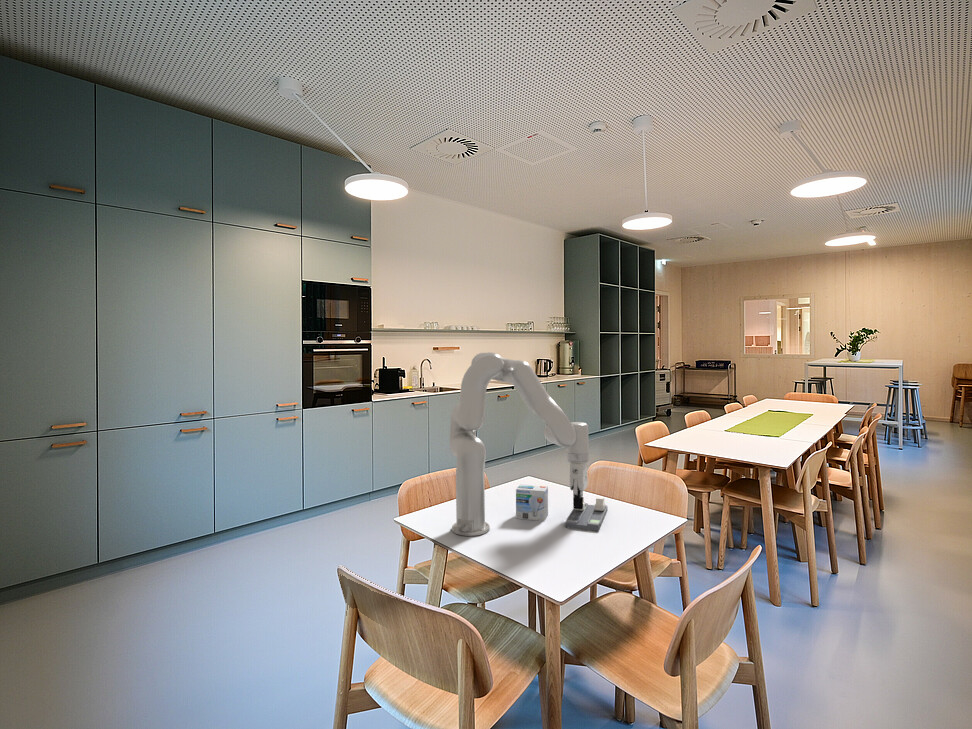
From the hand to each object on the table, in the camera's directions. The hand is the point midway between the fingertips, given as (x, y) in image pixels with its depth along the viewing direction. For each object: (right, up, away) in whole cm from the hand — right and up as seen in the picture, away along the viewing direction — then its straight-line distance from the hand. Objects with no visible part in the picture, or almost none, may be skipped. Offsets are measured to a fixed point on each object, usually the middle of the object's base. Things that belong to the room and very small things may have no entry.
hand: (578, 508), depth 179 cm
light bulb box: (-16, -4, +1) cm, 17 cm away
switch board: (+3, -3, -2) cm, 5 cm away
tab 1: (+1, -1, +3) cm, 4 cm away
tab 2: (+8, -1, +3) cm, 9 cm away
